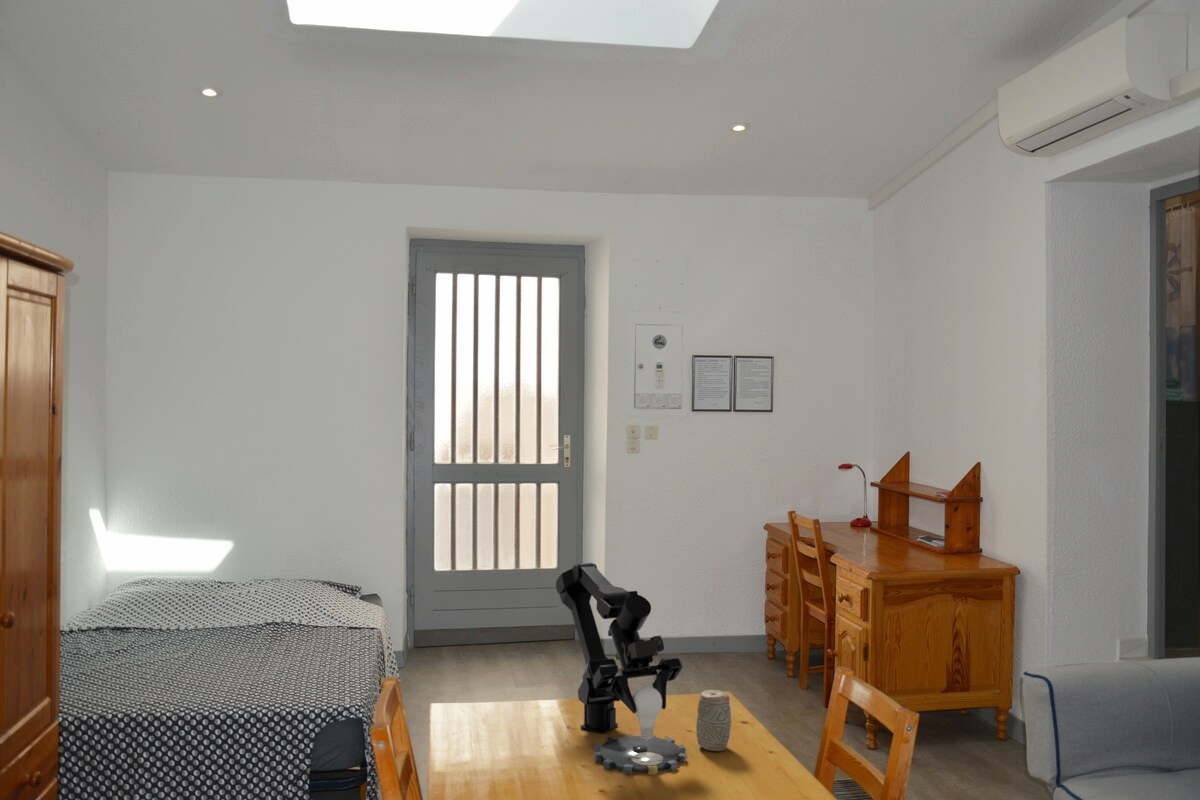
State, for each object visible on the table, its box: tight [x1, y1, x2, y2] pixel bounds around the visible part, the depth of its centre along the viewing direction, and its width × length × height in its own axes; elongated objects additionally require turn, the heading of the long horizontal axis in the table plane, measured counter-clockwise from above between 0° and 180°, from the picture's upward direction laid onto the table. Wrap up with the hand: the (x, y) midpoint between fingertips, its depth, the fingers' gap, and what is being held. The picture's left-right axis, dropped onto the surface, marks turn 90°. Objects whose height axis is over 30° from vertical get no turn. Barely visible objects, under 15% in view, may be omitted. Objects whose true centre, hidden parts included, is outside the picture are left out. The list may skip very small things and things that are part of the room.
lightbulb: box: [632, 685, 662, 741], centre depth 201 cm, size 6×6×11 cm
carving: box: [695, 689, 732, 752], centre depth 211 cm, size 6×8×12 cm
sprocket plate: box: [593, 733, 687, 776], centre depth 206 cm, size 19×19×2 cm
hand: (649, 710), depth 199 cm, fingers closed on lightbulb, 6 cm apart
